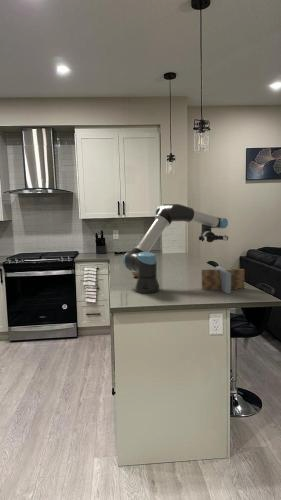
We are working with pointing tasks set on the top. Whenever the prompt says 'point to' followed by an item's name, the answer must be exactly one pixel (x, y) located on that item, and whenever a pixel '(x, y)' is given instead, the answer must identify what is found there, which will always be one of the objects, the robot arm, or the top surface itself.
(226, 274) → the slate plate
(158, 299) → the top surface
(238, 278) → the brown wooden panel
